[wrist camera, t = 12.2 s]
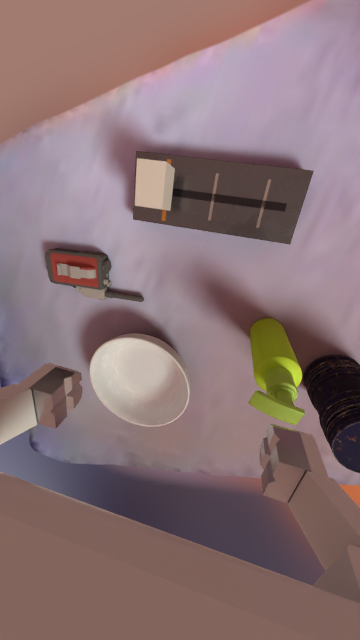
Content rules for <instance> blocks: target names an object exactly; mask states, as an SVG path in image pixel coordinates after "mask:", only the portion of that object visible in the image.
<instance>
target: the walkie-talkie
mask: <svg viewBox="0 0 360 640" xmlns="http://www.w3.org/2000/svg"><path fill="white" fill-rule="evenodd" d="M45 257H46V263H47V269H48V276H49V279H50V281H51V282H53V283H56V284H63V285H70V286H73V287H74V288H76V290H78V291H79V292H81V293H82V294H83V295H84V296H85V297H91V298H98V299H100V300H105V299H106V298H112V297H113V298H120V299H126V300H133V301H139V302H142V301H144V298H143V297H142V296H135V295H129V294H122V293H115V292H112V291H108V287H109V286H111V282H109V271H110V269H111V262H110V261H109V260H108V255H106V254H103V253H95V252H89V251H84V252H83V251H76V250H68V249H58V248H56V249H49V250H48V251H47V252H46V254H45Z"/></svg>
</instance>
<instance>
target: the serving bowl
mask: <svg viewBox="0 0 360 640" xmlns="http://www.w3.org/2000/svg"><path fill="white" fill-rule="evenodd" d="M90 379H91V383H92V386H93V388H94V391H95V393H96V394H97V396H98V398H99V399H100V400H101V402H102V403H103V404H104V405H105V406H106V407H107V408H108V409H109V410H110V411H111V412H113V413H114V414H116V415H117V416H119V417H120V418H122V419H124V420H126V421H128V422H131V423H133V424H137V425H142V426H161V425H165V424H168V423H171V422H173V421H174V420H176V419H177V418H178V417H180V416H181V414H182V413H183V412H184V411H185V409H186V407H187V405H188V401H189V397H190V379H189V375H188V371H187V369H186V366H185V364H184V362H183V361H182V359H181V357H180V356H179V355H178V354H177V352H176V351H175V350H174V349H173V348H172V347H170V346H169V345H168V344H166V343H165V342H163V341H162V340H160V339H158V338H155V337H153V336H149V335H146V334H138V333H131V334H124V335H120V336H117V337H115V338H112V339H110V340H109V341H107V342H105V343H104V344H102V345H101V346H100V347H99V348H98V349H97V350H96V351H95V353H94V355H93V357H92V359H91V362H90Z"/></svg>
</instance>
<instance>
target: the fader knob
mask: <svg viewBox="0 0 360 640" xmlns="http://www.w3.org/2000/svg"><path fill="white" fill-rule="evenodd" d="M174 173H175V168H173V167H172V166H171V165H170V164H169V163H168V162H166V161H157V160H148V159H140V158H137V168H136V189H135V206H141V207H148V208H155V209H161V210H168V211H170V210H171V201H172V192H173V182H174Z"/></svg>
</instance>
